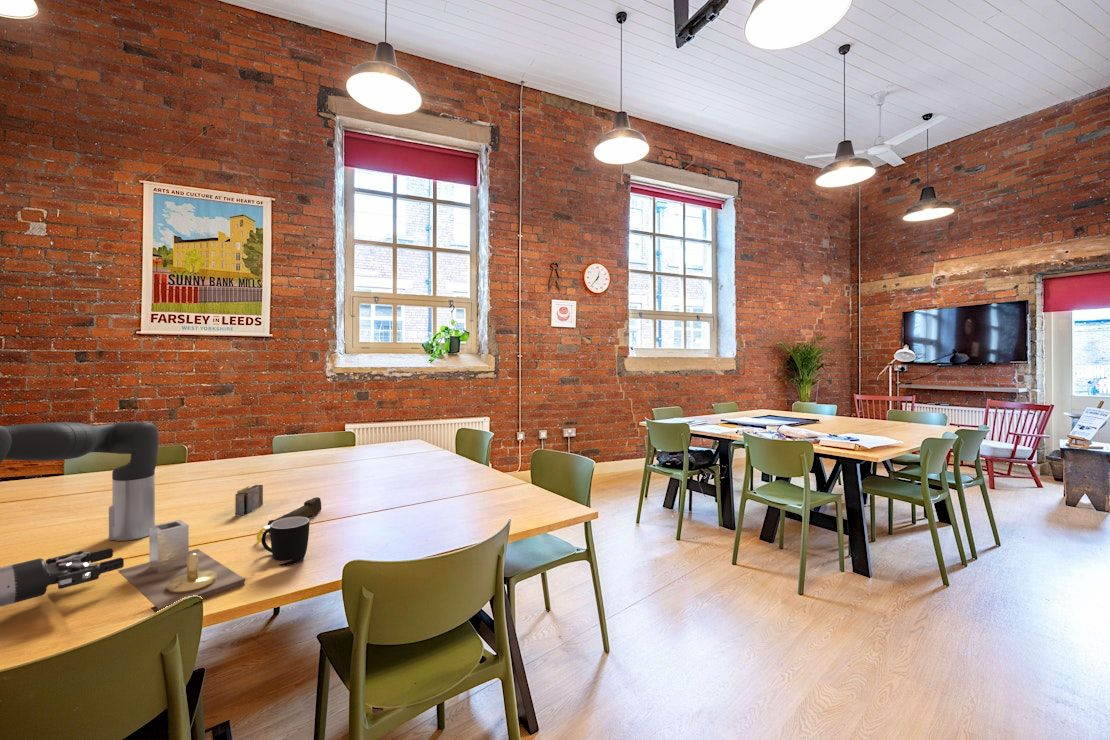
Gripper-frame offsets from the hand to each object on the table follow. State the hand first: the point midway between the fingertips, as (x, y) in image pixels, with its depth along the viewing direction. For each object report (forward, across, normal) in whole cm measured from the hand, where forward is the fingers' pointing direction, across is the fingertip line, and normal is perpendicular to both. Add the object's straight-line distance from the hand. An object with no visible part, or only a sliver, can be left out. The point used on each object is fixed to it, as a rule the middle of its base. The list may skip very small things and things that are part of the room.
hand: (117, 557), depth 107 cm
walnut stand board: (+9, -8, +7) cm, 14 cm away
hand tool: (+46, +11, +8) cm, 47 cm away
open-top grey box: (+9, 0, +6) cm, 11 cm away
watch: (+31, -4, +7) cm, 32 cm away
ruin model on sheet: (+42, +34, +8) cm, 54 cm away
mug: (+29, -15, +7) cm, 34 cm away
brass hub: (+9, -15, +5) cm, 19 cm away
